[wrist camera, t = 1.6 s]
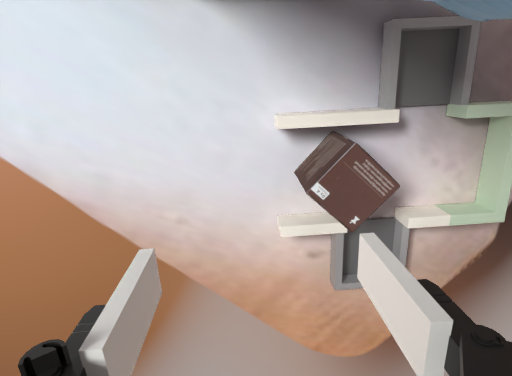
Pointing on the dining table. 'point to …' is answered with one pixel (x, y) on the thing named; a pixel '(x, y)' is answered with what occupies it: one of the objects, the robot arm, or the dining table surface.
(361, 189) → the box
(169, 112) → the dining table surface
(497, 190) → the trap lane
